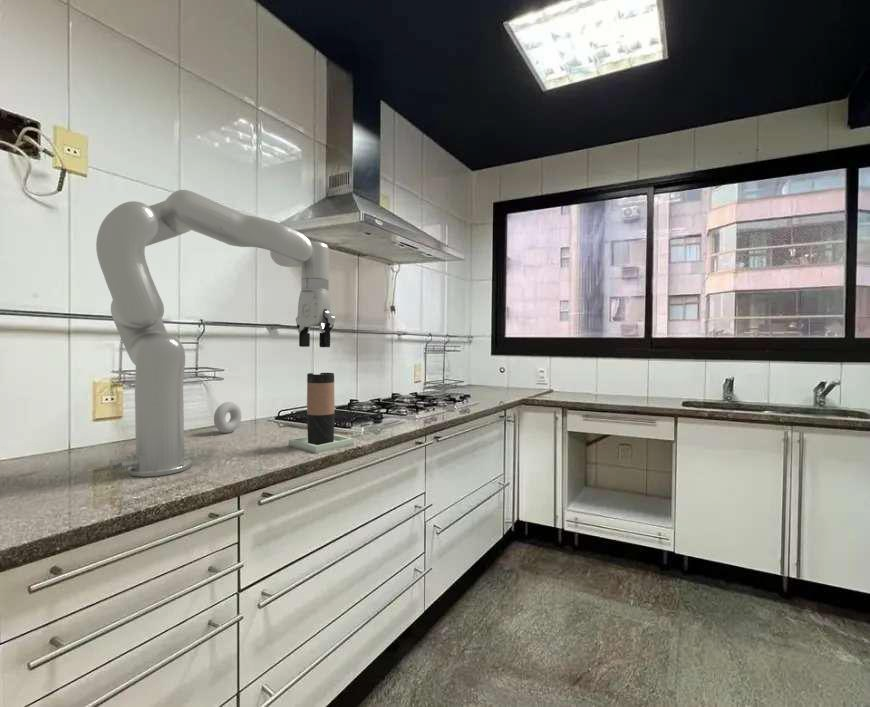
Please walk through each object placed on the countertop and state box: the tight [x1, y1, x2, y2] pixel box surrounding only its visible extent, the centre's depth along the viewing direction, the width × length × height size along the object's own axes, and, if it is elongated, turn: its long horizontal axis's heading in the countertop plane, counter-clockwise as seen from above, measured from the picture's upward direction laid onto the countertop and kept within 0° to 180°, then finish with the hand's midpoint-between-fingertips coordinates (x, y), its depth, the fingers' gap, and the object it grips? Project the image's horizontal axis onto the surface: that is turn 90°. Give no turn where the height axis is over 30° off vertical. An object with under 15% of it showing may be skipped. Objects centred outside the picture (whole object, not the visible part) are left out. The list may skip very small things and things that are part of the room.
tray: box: [288, 433, 355, 454], centre depth 130 cm, size 13×13×2 cm
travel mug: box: [306, 372, 335, 445], centre depth 129 cm, size 8×8×20 cm
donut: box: [213, 401, 242, 434], centre depth 146 cm, size 10×4×10 cm, turn 158°
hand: (314, 346), depth 129 cm, fingers open, 9 cm apart
